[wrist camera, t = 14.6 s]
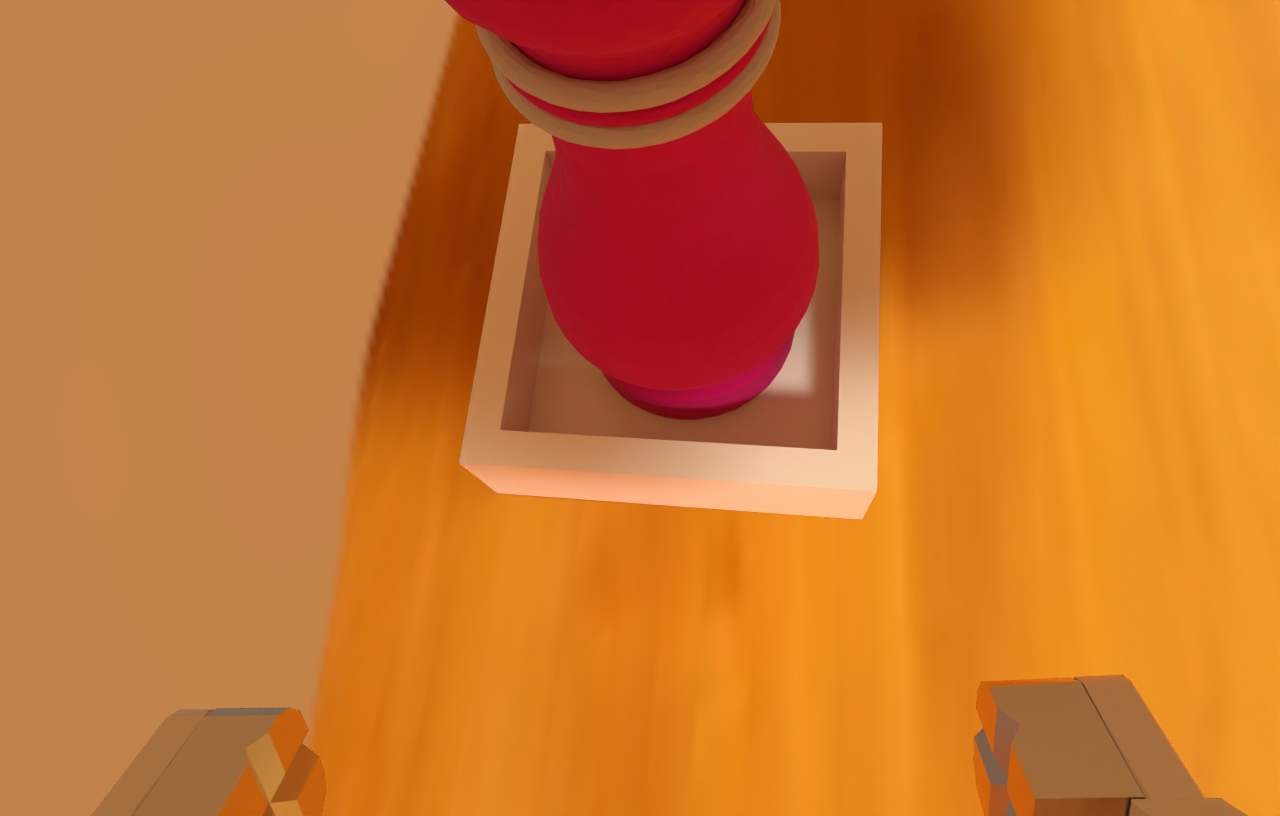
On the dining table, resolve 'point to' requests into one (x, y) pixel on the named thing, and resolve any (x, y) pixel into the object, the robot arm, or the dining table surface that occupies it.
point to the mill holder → (709, 447)
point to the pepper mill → (661, 191)
